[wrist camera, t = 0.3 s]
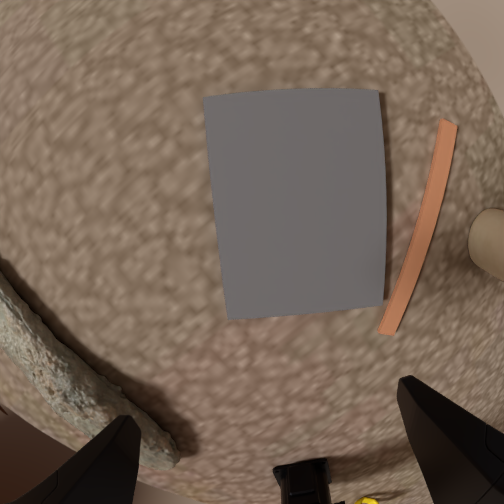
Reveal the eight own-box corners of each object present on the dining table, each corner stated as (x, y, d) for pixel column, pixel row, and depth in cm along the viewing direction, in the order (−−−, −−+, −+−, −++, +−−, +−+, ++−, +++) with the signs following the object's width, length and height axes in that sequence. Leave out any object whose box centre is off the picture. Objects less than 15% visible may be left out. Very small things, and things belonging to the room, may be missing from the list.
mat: (379, 300, 23) (382, 305, 22) (228, 314, 24) (227, 319, 23) (374, 92, 19) (378, 90, 18) (205, 99, 19) (202, 97, 18)
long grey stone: (-17, 210, 23) (-33, 266, 26) (-51, 220, 18) (-61, 280, 21) (205, 441, 28) (156, 462, 30) (194, 479, 23) (144, 493, 25)
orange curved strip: (391, 332, 24) (393, 335, 23) (377, 330, 24) (379, 333, 23) (453, 126, 19) (457, 126, 18) (439, 119, 19) (443, 118, 18)
